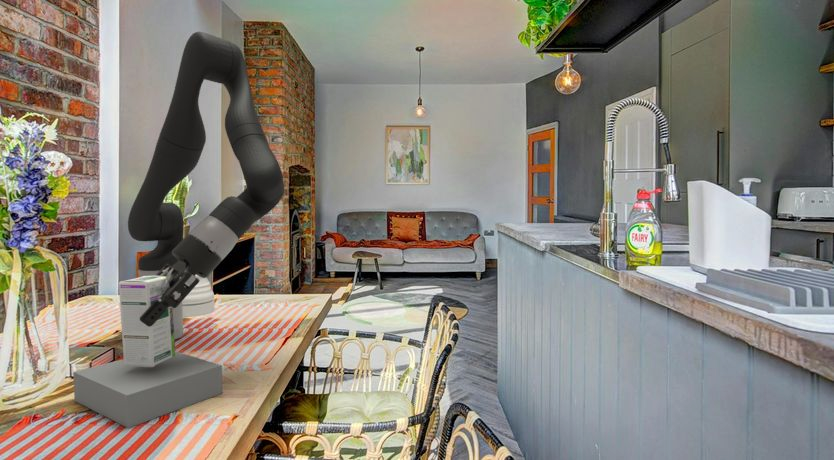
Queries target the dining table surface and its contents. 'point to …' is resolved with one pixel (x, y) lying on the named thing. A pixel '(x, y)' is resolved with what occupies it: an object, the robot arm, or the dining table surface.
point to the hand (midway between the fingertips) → (138, 318)
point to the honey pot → (199, 299)
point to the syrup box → (138, 338)
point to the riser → (146, 387)
